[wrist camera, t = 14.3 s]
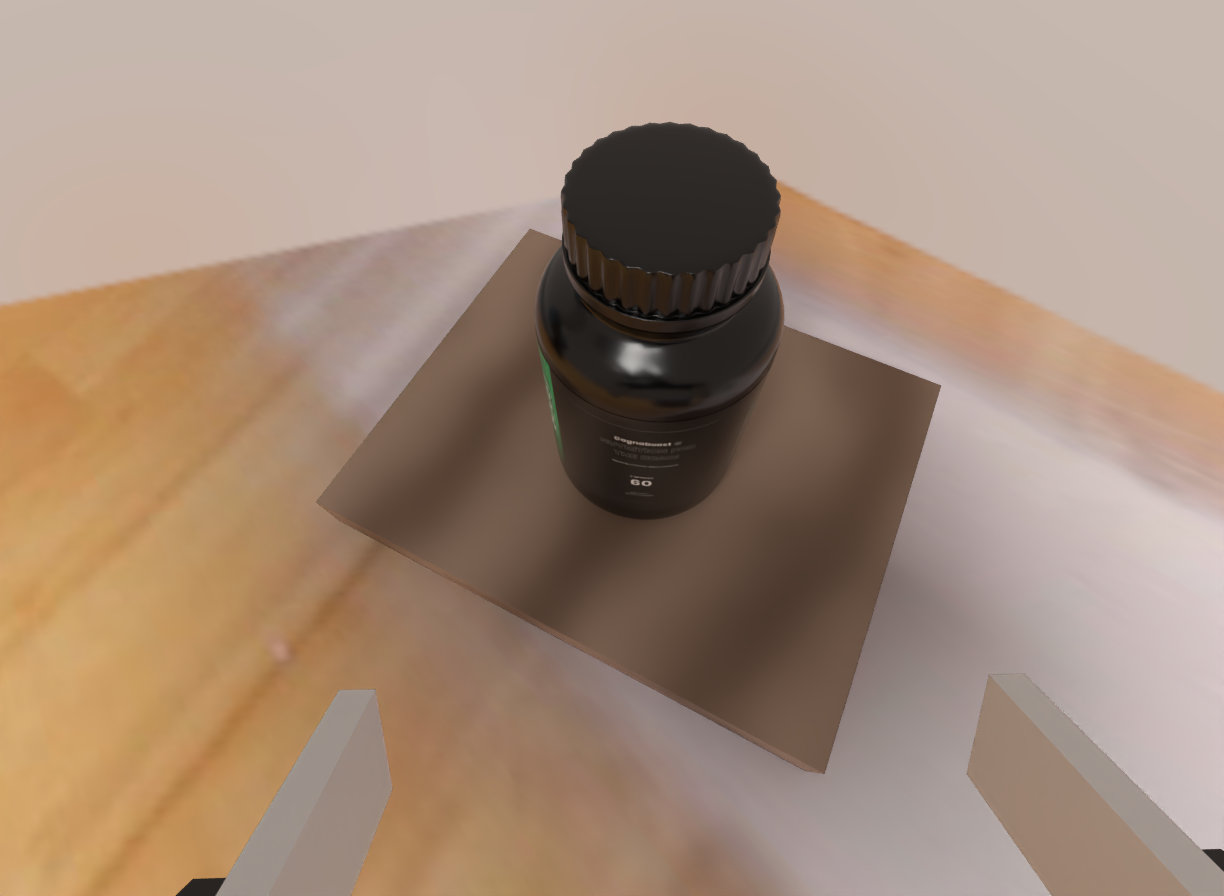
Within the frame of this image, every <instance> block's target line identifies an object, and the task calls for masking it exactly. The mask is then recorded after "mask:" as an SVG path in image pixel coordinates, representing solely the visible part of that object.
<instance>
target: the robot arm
mask: <svg viewBox="0 0 1224 896" xmlns="http://www.w3.org/2000/svg"><path fill="white" fill-rule="evenodd" d="M967 775H968V777H969V778H970V779H971V781H972V782H973V784H974V785H975V787H976V788H977V789H978V791H979V792H980V794H981V795H982V797H983V798H984V799H985V801H986V802H987V804H988V805H989V807H990V808H991V809H992V811H993V812H994V814H995V815H996V817H997V818H998V819H999V821H1000V822H1001V824H1002V825H1003V827H1004V828H1005V829H1006V831H1007V832H1008V834H1009V835H1010V837H1011V838H1012V839H1013V841H1014V842H1015V844H1016V845H1017V847H1018V848H1019V849H1020V851H1021V852H1022V854H1023V855H1024V857H1025V858H1026V859H1027V861H1028V862H1029V864H1030V865H1031V867H1032V868H1033V869H1034V871H1035V872H1036V874H1037V875H1038V877H1039V878H1040V879H1041V881H1042V882H1043V884H1044V885H1045V887H1046V888H1047V889H1048V891H1049V892H1050V894H1051V895H1052V896H1224V851H1223V850H1221V849H1206V850H1201V849H1200V848H1199V847H1198V846H1197V845H1196V844H1195V843H1194V842H1193V841H1192V840H1191V839H1190V838H1189V837H1188V836H1187V835H1186V834H1185V833H1184V832H1183V831H1182V830H1181V829H1180V828H1179V827H1178V826H1177V825H1176V824H1175V823H1174V822H1173V821H1172V820H1171V819H1170V818H1169V817H1168V816H1167V815H1166V814H1165V813H1164V812H1163V811H1162V810H1161V809H1160V808H1159V807H1158V806H1157V805H1156V804H1155V803H1154V802H1153V801H1152V800H1151V799H1150V798H1149V797H1148V796H1147V795H1146V794H1145V793H1144V792H1143V791H1142V790H1141V789H1140V788H1139V787H1138V786H1137V785H1136V784H1135V783H1134V782H1133V781H1132V780H1131V779H1130V778H1129V777H1128V776H1127V775H1126V774H1125V773H1124V772H1123V771H1122V770H1121V769H1120V768H1119V767H1118V766H1117V765H1116V764H1115V763H1114V762H1113V761H1112V760H1111V759H1110V758H1109V757H1108V756H1107V755H1106V754H1105V753H1104V752H1103V751H1102V750H1101V749H1100V748H1099V747H1098V746H1097V745H1096V744H1095V743H1094V742H1093V741H1092V740H1091V739H1090V738H1089V737H1088V736H1087V735H1086V734H1085V733H1084V732H1083V731H1082V730H1081V729H1080V728H1079V727H1078V726H1077V725H1076V724H1075V723H1074V722H1073V721H1072V720H1071V719H1070V718H1069V717H1068V716H1067V715H1066V714H1064V713H1063V712H1062V711H1061V710H1060V709H1059V708H1058V707H1057V706H1056V705H1055V704H1054V703H1053V702H1052V701H1051V700H1050V699H1049V698H1048V697H1047V696H1046V695H1045V694H1044V693H1043V692H1042V691H1041V690H1040V689H1039V688H1038V687H1037V686H1036V685H1035V684H1034V683H1033V682H1032V681H1031V680H1030V679H1029V678H1028V677H1027V676H1026V675H1025V674H994V675H989V678H988V682H987V686H986V691H985V695H984V700H983V704H982V708H981V713H980V717H979V722H978V726H977V730H976V735H975V739H974V744H973V748H972V752H971V757H970V761H969V765H968V770H967ZM392 789H393V788H392V782H391V776H390V770H389V765H388V759H387V753H386V747H385V742H384V736H383V730H382V724H381V719H380V713H379V707H378V701H377V695H376V690H375V689H362V690H339V691H338V693H337V694H336V696H335V698H334V699H333V701H332V703H331V704H330V706H329V708H328V709H327V711H326V713H325V714H324V716H323V718H322V719H321V721H320V723H319V724H318V726H317V728H316V729H315V731H314V733H313V734H312V736H311V738H310V739H309V741H308V743H307V744H306V746H305V748H304V749H303V751H302V753H301V754H300V756H299V758H298V759H297V761H296V763H295V764H294V766H293V768H292V769H291V771H290V773H289V774H288V776H287V778H286V779H285V781H284V783H283V784H282V786H281V788H280V789H279V791H278V793H277V794H276V796H275V798H274V799H273V801H272V803H271V804H270V806H269V808H268V809H267V811H266V813H265V814H264V816H263V818H262V819H261V821H260V823H259V824H258V826H257V828H256V829H255V831H254V833H253V834H252V836H251V838H250V839H249V841H248V843H247V844H246V846H245V848H244V849H243V851H242V853H241V854H240V856H239V858H238V859H237V861H236V863H235V864H234V866H233V868H232V869H231V871H230V873H229V874H228V876H227V878H208V879H192V880H191V881H190V882H189V883H188V884H187V885H186V886H185V887H184V888H183V889H182V890H181V891H180V892H179V893H178V894H177V895H176V896H351V894H352V891H353V889H354V886H355V884H356V881H357V879H358V876H359V874H360V871H361V868H362V866H363V863H364V861H365V858H366V856H367V853H368V851H369V848H370V845H371V843H372V840H373V838H374V835H375V833H376V830H377V827H378V825H379V822H380V820H381V817H382V815H383V812H384V810H385V807H386V804H387V802H388V799H389V797H390V794H391V792H392Z"/></svg>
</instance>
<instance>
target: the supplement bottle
mask: <svg viewBox="0 0 1224 896" xmlns="http://www.w3.org/2000/svg"><path fill="white" fill-rule="evenodd" d="M776 184H777V180H776V179H775V178H774V177H773V176H772V175H771V174H770V170H769V166H767V165H766V164H765V163H763V162H762V161H761V160H760V158H759V156H758V154H756V153H755V152H752V151H750V150H748V148H747V147H746V146H745V145H744V144H743V143H741V142H738V141H735V140H733V139H732V138H731V137H730V136H728V135H727V134H722V133H718V132H716V131H714V130H712V129H710V128H706V127H697V126H695V125H692V124H677V123H672V122H667V123H662V124H657V123H648V124H645V125H642V126H631V127H628V128H626V129H625V130H622V131H615V132H612V133H611V134H610V135H609V136H608V137H605V138H601V139H598V140H597V141H596V142H595V143H594V144H593V146H591V147H588V148H586V149H584V150H583V152H582V154H581V156H580V157H579V158H578V159H576V160H574V161H573V163H572V169H571V170H570V171H569V172H568V173H567V174H566V175H565V185H564V187H563V189H562V191H561V204H562V224H563V234H562V245H561V246H560V247H559V248H558V250H557V251H556V252H555V254H554V255H553V256H552V258H551V259H550V261H549V263H548V264H547V266H546V268H545V270H544V272H543V274H542V276H541V279H540V281H539V285H538V288H537V292H536V297H535V306H534V316H535V329H536V336H537V341H538V347H539V352H540V358H541V363H542V369H543V374H544V379H545V385H546V390H547V396H548V401H549V407H550V412H551V417H552V423H553V428H554V434H555V439H556V444H557V448H558V453H559V457H560V460H561V463H562V466H563V468H564V470H565V472H566V474H567V476H568V478H569V480H570V481H571V482H572V484H573V485H574V486H575V488H576V489H577V490H578V491H579V492H580V493H581V494H582V495H583V496H584V497H585V498H586V499H588V500H589V501H590V502H592V503H593V504H595V505H596V506H598V507H599V508H601V509H603V510H605V511H607V512H610V513H612V514H615V515H618V516H621V517H625V518H630V519H638V520H655V519H663V518H667V517H671V516H675V515H678V514H680V513H683V512H685V511H687V510H689V509H691V508H693V507H695V506H696V505H698V504H699V503H701V502H702V501H703V500H704V499H706V498H707V497H708V496H709V495H710V494H711V493H712V492H713V491H714V489H715V488H716V487H717V486H718V484H719V483H720V481H721V480H722V478H723V476H724V475H725V473H726V470H727V468H728V466H729V464H730V462H731V460H732V458H733V455H734V453H735V451H736V448H737V446H738V444H739V441H740V439H741V437H742V434H743V432H744V430H745V427H746V425H747V423H748V420H749V418H750V416H751V413H752V411H753V409H754V406H755V404H756V402H757V399H758V397H759V394H760V392H761V390H762V387H763V385H764V383H765V380H766V378H767V376H768V373H769V371H770V369H771V366H772V364H773V362H774V359H775V356H776V353H777V350H778V347H779V344H780V341H781V338H782V333H783V327H784V305H783V300H782V295H781V291H780V288H779V284H778V281H777V279H776V277H775V275H774V272H773V270H772V268H771V267H770V265H769V260H770V253H771V245H772V242H773V239H774V236H775V232H776V228H777V225H778V222H779V219H780V212H781V211H780V207H779V204H780V198H781V195H780V193H779V191H778V190H777V189H776Z"/></svg>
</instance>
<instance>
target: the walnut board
mask: <svg viewBox="0 0 1224 896" xmlns="http://www.w3.org/2000/svg"><path fill="white" fill-rule="evenodd" d="M561 245H562V241H561V240H558V239H556V238H553V237H550V236H548V235H545V234H542V233H540V232H537V231H535V230H532V229H529V231H528V232H527V233H526V234H525V236H524V237H523V238H522V240H521V241H520V242H519V243H518V245H517V246H516V247H515V249H514V250H513V251H512V252H511V254H510V255H509V256H508V257H507V259H506V260H505V261H504V263H503V264H502V265H501V266H500V268H499V269H498V270H497V272H496V273H495V274H494V275H493V277H492V278H491V279H490V280H489V282H488V283H487V284H486V286H485V287H484V288H483V289H482V291H481V292H480V293H479V295H478V296H477V297H476V298H475V300H474V301H473V302H472V303H471V305H470V306H469V307H468V309H467V310H466V311H465V312H464V314H463V315H462V316H461V317H460V319H459V320H458V321H457V323H456V324H455V325H454V326H453V328H452V329H451V330H450V332H449V333H448V334H447V335H446V337H445V338H444V339H443V340H442V342H441V343H440V344H439V346H438V347H437V348H436V349H435V351H434V352H433V353H432V355H431V356H430V357H429V358H428V360H427V361H426V362H425V363H424V365H423V366H422V367H421V369H420V370H419V371H418V372H417V374H416V375H415V376H414V378H413V379H412V380H411V381H410V383H409V384H408V385H407V386H406V388H405V389H404V390H403V392H402V393H401V394H400V395H399V397H398V398H397V399H396V400H395V402H394V403H393V404H392V406H391V407H390V408H389V409H388V411H387V412H386V413H385V415H384V416H383V417H382V418H381V420H380V421H379V422H378V423H377V425H376V426H375V427H374V429H373V430H372V431H371V432H370V434H369V435H368V436H367V438H366V439H365V440H364V441H363V443H362V444H361V445H360V446H359V448H358V449H357V450H356V452H355V453H354V454H353V455H352V457H351V458H350V459H349V461H348V462H347V463H346V464H345V466H344V467H343V468H342V469H341V471H340V472H339V473H338V475H337V476H336V477H335V478H334V480H333V481H332V482H331V483H330V485H329V486H328V487H327V489H326V490H325V491H324V492H323V494H322V495H321V496H320V498H319V499H318V500H317V501H316V502H317V503H318V504H319V505H321V506H322V507H323V508H324V509H325V510H327V511H328V512H329V513H330V514H332V515H333V516H334V517H335V518H337V519H338V520H339V521H341V522H343V523H345V524H347V525H349V526H351V527H352V528H354V529H356V530H358V531H360V532H362V533H364V534H366V535H367V536H369V537H371V538H373V539H375V540H377V541H379V542H380V543H382V544H384V545H386V546H388V547H390V548H392V549H393V550H395V551H397V552H399V553H401V554H403V555H405V556H406V557H408V558H410V559H412V560H414V561H416V562H418V563H419V564H421V565H423V566H425V567H427V568H429V569H431V570H433V571H434V572H436V573H438V574H440V575H442V576H444V577H446V578H447V579H449V580H451V581H453V582H455V583H457V584H459V585H460V586H462V587H464V588H466V589H468V590H470V591H472V592H473V593H475V594H477V595H479V596H481V597H483V598H485V599H486V600H488V601H490V602H492V603H494V604H496V605H498V606H500V607H501V608H503V609H505V610H507V611H509V612H511V613H513V614H514V615H516V616H518V617H520V618H522V619H524V620H526V621H527V622H529V623H531V624H533V625H535V626H537V627H539V628H540V629H542V630H544V631H546V632H548V633H550V634H552V635H553V636H555V637H557V638H559V639H561V640H563V641H565V642H566V643H568V644H570V645H572V646H574V647H576V648H578V649H580V650H581V651H583V652H585V653H587V654H589V655H591V656H593V657H594V658H596V659H598V660H600V661H602V662H604V663H606V664H607V665H609V666H611V667H613V668H615V669H617V670H619V671H620V672H622V673H624V674H626V675H628V676H630V677H632V678H633V679H635V680H637V681H639V682H641V683H643V684H645V685H647V686H648V687H650V688H652V689H654V690H656V691H658V692H660V693H661V694H663V695H665V696H667V697H669V698H671V699H673V700H674V701H676V702H678V703H680V704H682V705H684V706H686V707H687V708H689V709H691V710H693V711H695V712H697V713H699V714H700V715H702V716H704V717H706V718H708V719H710V720H712V721H714V722H715V723H717V724H719V725H721V726H723V727H725V728H727V729H728V730H730V731H732V732H734V733H736V734H738V735H740V736H741V737H743V738H745V739H747V740H749V741H751V742H753V743H754V744H756V745H758V746H760V747H762V748H764V749H766V750H767V751H769V752H771V753H773V754H775V755H777V756H779V757H781V758H782V759H784V760H786V761H788V762H790V763H792V764H794V765H795V766H797V767H799V768H801V769H803V770H805V771H810V772H816V773H823V774H825V770H826V767H827V764H828V760H829V757H830V754H831V750H832V747H833V744H834V740H835V737H836V734H837V730H838V727H839V724H840V720H841V717H842V714H843V710H844V707H845V704H846V700H847V697H848V694H849V690H850V687H851V684H852V680H853V677H854V674H855V670H856V667H857V664H858V660H859V657H860V654H861V650H862V647H863V644H864V640H865V637H866V634H867V631H868V627H869V624H870V621H871V617H872V614H873V611H874V607H875V604H876V601H877V597H878V594H879V591H880V587H881V584H882V581H883V577H884V574H885V571H886V567H887V564H888V561H889V557H890V554H891V551H892V547H893V544H894V541H895V537H896V534H897V531H898V527H899V524H900V521H901V517H902V514H903V511H904V507H905V504H906V501H907V497H908V494H909V491H910V488H911V484H912V481H913V478H914V474H915V471H916V468H917V464H918V461H919V458H920V454H921V451H922V448H923V444H924V441H925V438H926V434H927V431H928V428H929V424H930V421H931V418H932V414H933V411H934V408H935V404H936V401H937V398H938V394H939V391H940V388H941V385H938V384H936V383H933V382H930V381H928V380H925V379H922V378H920V377H917V376H915V375H912V374H909V373H907V372H904V371H902V370H899V369H896V368H894V367H891V366H888V365H886V364H883V363H881V362H878V361H875V360H873V359H870V358H867V357H865V356H862V355H860V354H857V353H854V352H852V351H849V350H846V349H844V348H841V347H839V346H836V345H833V344H831V343H828V342H826V341H823V340H820V339H818V338H815V337H812V336H810V335H807V334H805V333H802V332H799V331H797V330H794V329H791V328H789V327H786V326H784V327H783V333H782V338H781V341H780V344H779V347H778V350H777V353H776V356H775V359H774V362H773V364H772V366H771V369H770V371H769V373H768V376H767V378H766V380H765V383H764V385H763V387H762V390H761V392H760V394H759V397H758V399H757V402H756V404H755V406H754V409H753V411H752V413H751V416H750V418H749V420H748V423H747V425H746V427H745V430H744V432H743V434H742V437H741V439H740V441H739V444H738V446H737V448H736V451H735V453H734V455H733V458H732V460H731V462H730V464H729V466H728V468H727V470H726V473H725V475H724V476H723V478H722V480H721V481H720V483H719V484H718V486H717V487H716V488H715V489H714V491H713V492H712V493H711V494H710V495H709V496H708V497H707V498H706V499H704V500H703V501H702V502H701V503H699V504H698V505H696V506H695V507H693V508H691V509H689V510H687V511H685V512H683V513H680V514H678V515H675V516H671V517H667V518H663V519H655V520H638V519H630V518H625V517H621V516H618V515H615V514H612V513H610V512H607V511H605V510H603V509H601V508H599V507H598V506H596V505H595V504H593V503H592V502H590V501H589V500H588V499H586V498H585V497H584V496H583V495H582V494H581V493H580V492H579V491H578V490H577V489H576V488H575V486H574V485H573V484H572V482H571V481H570V480H569V478H568V476H567V474H566V472H565V470H564V468H563V466H562V463H561V460H560V457H559V453H558V448H557V444H556V439H555V434H554V428H553V423H552V417H551V412H550V407H549V401H548V396H547V390H546V385H545V379H544V374H543V369H542V363H541V358H540V352H539V347H538V341H537V336H536V329H535V316H534V306H535V297H536V292H537V288H538V285H539V281H540V279H541V276H542V274H543V272H544V270H545V268H546V266H547V264H548V263H549V261H550V259H551V258H552V256H553V255H554V254H555V252H556V251H557V250H558V248H559V247H560V246H561Z"/></svg>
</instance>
